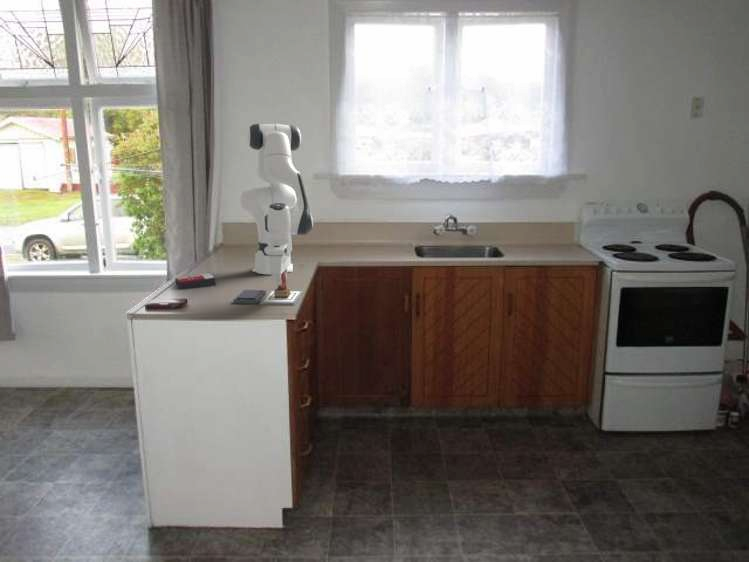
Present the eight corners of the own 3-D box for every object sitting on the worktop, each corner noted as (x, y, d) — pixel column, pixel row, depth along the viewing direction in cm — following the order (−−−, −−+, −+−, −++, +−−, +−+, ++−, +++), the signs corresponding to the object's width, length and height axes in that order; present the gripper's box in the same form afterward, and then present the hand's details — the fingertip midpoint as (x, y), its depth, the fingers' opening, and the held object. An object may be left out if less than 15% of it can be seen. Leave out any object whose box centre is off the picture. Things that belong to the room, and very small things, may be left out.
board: (271, 292, 248) (271, 290, 248) (303, 292, 247) (303, 290, 247) (260, 304, 231) (260, 301, 230) (294, 304, 230) (294, 302, 230)
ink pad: (243, 294, 246) (243, 289, 245) (266, 294, 245) (265, 289, 245) (233, 303, 232) (233, 298, 232) (257, 303, 232) (256, 298, 231)
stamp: (278, 294, 242) (276, 271, 240) (290, 294, 241) (289, 271, 239) (274, 298, 236) (273, 274, 234) (287, 298, 236) (286, 274, 234)
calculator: (174, 276, 263) (209, 271, 269) (175, 286, 264) (211, 280, 270) (178, 281, 253) (215, 276, 259) (180, 291, 254) (216, 286, 260)
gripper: (278, 241, 244) (279, 275, 248) (265, 251, 225) (267, 288, 228) (293, 241, 244) (295, 275, 247) (282, 251, 224) (284, 288, 227)
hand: (281, 281), depth 237 cm, fingers open, 8 cm apart
